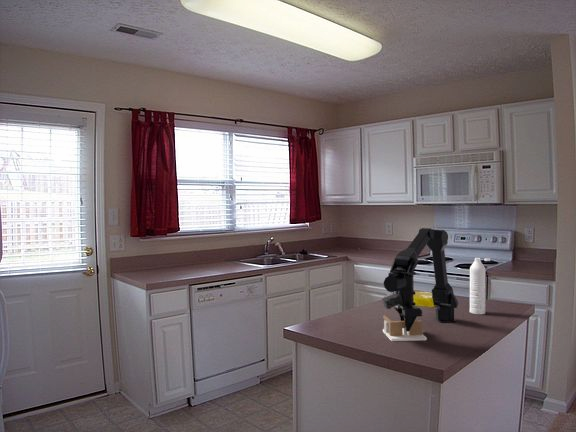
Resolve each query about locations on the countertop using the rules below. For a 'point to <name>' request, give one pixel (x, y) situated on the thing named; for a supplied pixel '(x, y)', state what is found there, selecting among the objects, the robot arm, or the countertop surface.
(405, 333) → the display stand
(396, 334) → the wooden c-shaped bracket
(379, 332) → the countertop surface
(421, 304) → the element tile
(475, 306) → the water bottle
